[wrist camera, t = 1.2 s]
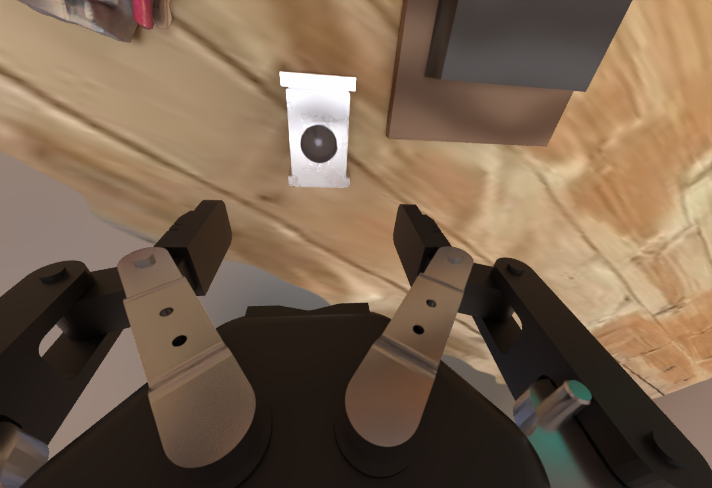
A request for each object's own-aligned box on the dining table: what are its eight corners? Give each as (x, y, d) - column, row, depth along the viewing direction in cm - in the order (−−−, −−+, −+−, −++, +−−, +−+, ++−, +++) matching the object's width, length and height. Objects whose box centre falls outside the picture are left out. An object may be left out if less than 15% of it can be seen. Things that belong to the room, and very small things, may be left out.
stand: (430, -207, 16) (473, -309, 12) (672, -150, 18) (785, -216, 14) (385, 135, 28) (398, 149, 23) (537, 142, 30) (575, 157, 25)
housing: (283, 70, 23) (274, 73, 19) (353, 76, 24) (359, 80, 20) (291, 176, 29) (286, 196, 25) (347, 178, 30) (351, 198, 26)
